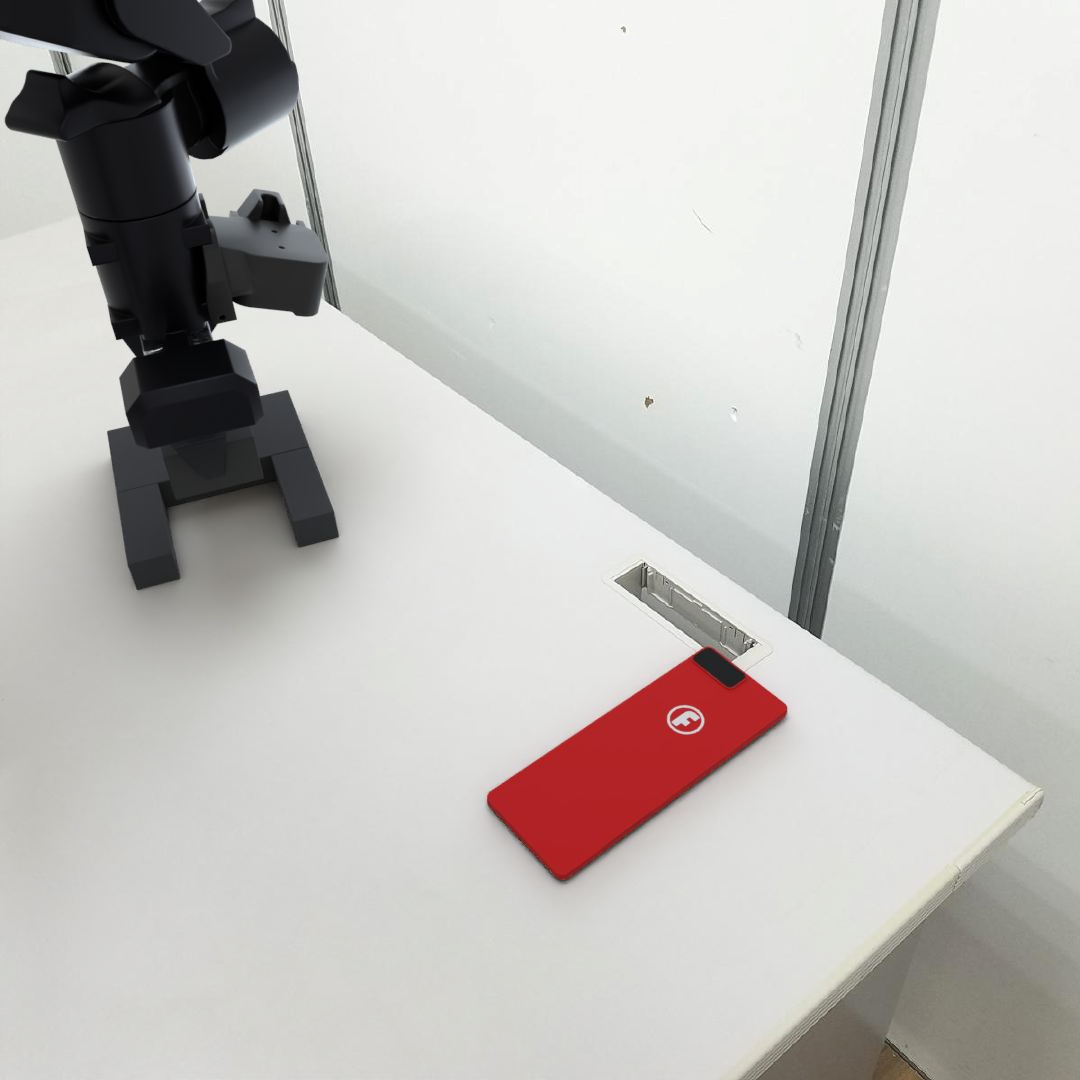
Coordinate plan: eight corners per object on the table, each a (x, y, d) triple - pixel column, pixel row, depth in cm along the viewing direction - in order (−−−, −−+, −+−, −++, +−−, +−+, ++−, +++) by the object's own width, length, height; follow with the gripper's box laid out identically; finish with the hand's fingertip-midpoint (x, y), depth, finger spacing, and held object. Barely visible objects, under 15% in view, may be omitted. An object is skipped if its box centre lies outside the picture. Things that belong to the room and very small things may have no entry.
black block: (176, 500, 64) (162, 457, 62) (165, 451, 68) (152, 409, 66) (264, 478, 66) (253, 436, 64) (249, 431, 69) (238, 390, 67)
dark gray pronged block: (136, 590, 66) (127, 564, 65) (115, 454, 76) (106, 430, 75) (339, 537, 69) (334, 511, 68) (293, 413, 79) (287, 389, 78)
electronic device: (561, 885, 51) (790, 714, 57) (561, 878, 50) (791, 707, 57) (483, 801, 54) (707, 649, 61) (482, 794, 54) (708, 642, 61)
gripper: (342, 246, 51) (384, 512, 61) (266, 104, 64) (311, 343, 75) (85, 296, 48) (175, 566, 59) (60, 137, 62) (137, 380, 72)
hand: (208, 451), depth 66 cm, fingers closed on black block, 5 cm apart
